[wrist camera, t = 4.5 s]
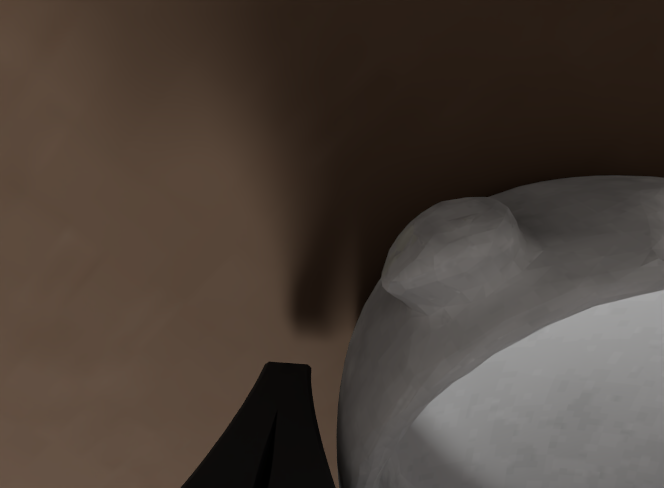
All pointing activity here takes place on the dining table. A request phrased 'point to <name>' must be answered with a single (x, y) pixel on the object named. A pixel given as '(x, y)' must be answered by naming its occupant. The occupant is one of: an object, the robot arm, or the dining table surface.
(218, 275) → the dining table surface
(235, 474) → the robot arm
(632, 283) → the dish
